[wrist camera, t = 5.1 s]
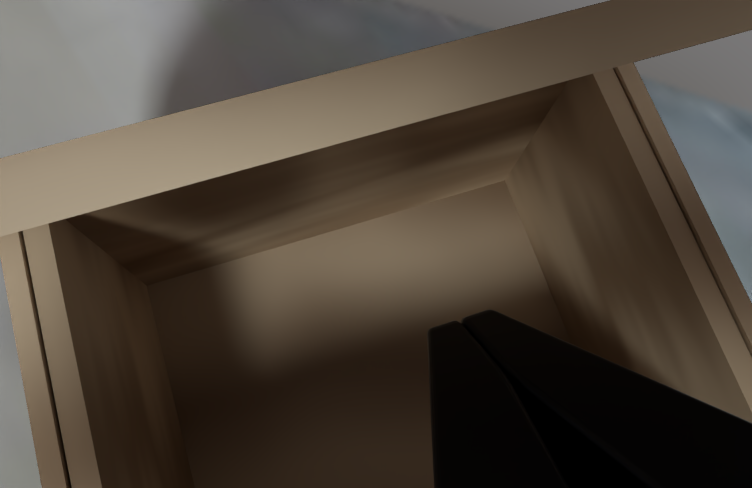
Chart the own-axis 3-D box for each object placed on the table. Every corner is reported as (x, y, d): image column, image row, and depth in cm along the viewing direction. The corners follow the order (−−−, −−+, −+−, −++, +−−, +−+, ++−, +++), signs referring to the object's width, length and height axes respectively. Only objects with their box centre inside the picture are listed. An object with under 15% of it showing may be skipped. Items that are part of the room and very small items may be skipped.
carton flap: (1275, -115, 5) (1282, -174, 5) (-592, 400, 3) (-645, 324, 3) (575, 31, 15) (572, 13, 15) (36, 173, 13) (28, 153, 13)
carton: (660, 502, 20) (867, 540, 12) (207, 675, 18) (107, 854, 10) (520, 166, 23) (614, 24, 15) (118, 284, 21) (-12, 190, 13)
